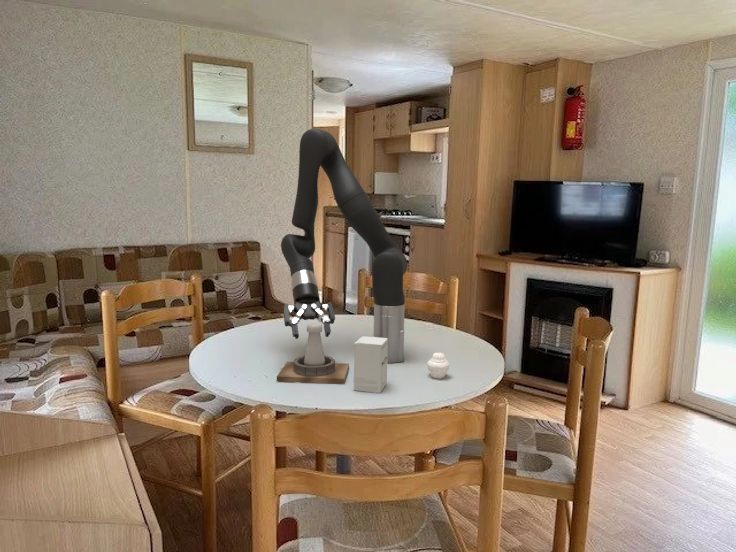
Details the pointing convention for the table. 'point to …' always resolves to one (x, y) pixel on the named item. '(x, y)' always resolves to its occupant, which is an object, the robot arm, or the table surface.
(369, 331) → the table surface
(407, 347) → the table surface
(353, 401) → the table surface
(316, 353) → the salt shaker
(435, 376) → the muffin
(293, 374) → the socket base
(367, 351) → the supplement box
